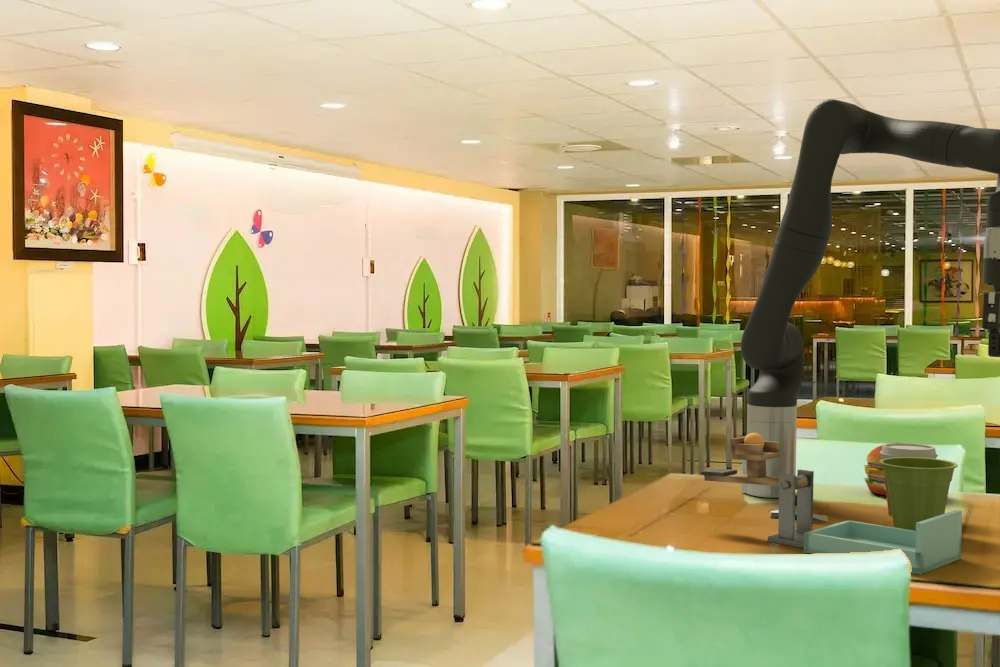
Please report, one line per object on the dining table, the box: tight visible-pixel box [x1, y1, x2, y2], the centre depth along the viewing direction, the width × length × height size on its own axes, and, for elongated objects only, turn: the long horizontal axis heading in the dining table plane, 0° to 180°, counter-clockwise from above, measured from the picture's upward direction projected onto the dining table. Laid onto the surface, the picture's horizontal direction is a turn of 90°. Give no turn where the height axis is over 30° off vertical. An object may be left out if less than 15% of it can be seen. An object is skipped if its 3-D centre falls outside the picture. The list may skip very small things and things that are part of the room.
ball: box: [744, 433, 764, 447], centre depth 175 cm, size 3×3×3 cm
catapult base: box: [767, 469, 815, 549], centre depth 170 cm, size 6×8×11 cm
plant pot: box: [880, 457, 959, 531], centre depth 178 cm, size 12×12×11 cm
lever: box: [700, 436, 809, 491], centre depth 175 cm, size 17×6×8 cm, turn 45°
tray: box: [803, 509, 963, 576], centre depth 160 cm, size 18×14×7 cm
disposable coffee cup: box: [880, 442, 939, 515], centre depth 191 cm, size 10×10×12 cm
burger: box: [863, 442, 890, 497], centre depth 212 cm, size 13×14×10 cm
